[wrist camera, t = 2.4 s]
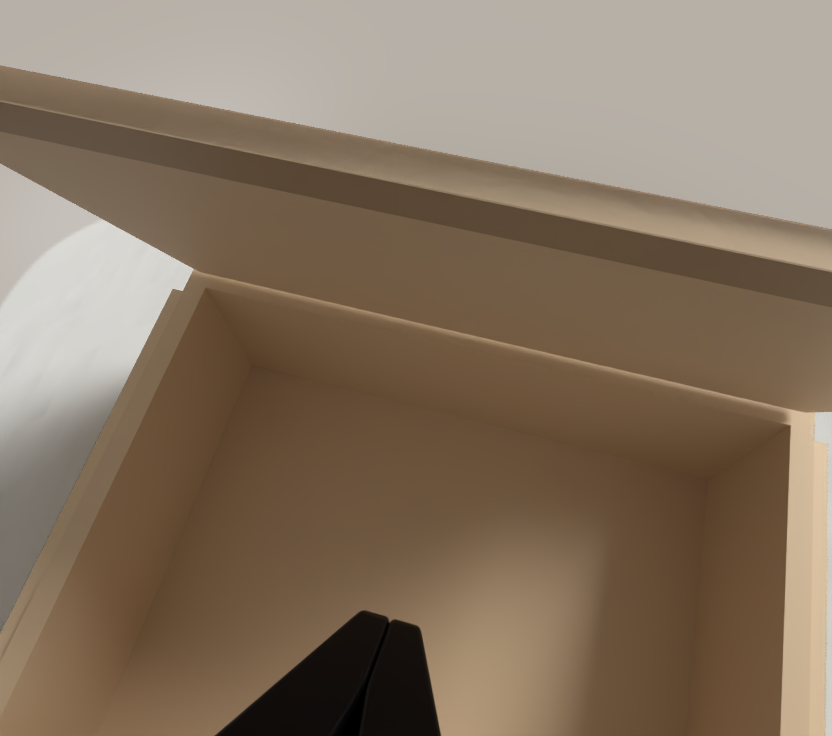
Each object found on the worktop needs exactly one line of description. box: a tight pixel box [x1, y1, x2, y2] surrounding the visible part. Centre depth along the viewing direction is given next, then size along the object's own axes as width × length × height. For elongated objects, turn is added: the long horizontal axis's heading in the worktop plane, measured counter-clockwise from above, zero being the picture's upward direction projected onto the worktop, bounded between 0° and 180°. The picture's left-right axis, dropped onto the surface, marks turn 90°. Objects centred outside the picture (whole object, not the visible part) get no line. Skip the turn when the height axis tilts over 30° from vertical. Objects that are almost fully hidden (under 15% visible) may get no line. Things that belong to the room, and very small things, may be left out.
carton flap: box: [0, 66, 832, 413], centre depth 12 cm, size 11×17×1 cm
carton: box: [0, 269, 828, 736], centre depth 18 cm, size 14×19×6 cm
